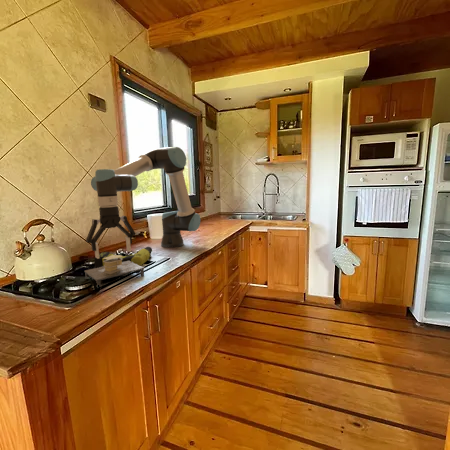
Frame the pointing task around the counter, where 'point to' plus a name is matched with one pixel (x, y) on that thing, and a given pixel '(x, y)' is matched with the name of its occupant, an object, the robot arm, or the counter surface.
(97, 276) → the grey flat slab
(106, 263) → the stacked layers on plate
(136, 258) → the cordless drill
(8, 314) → the counter surface
